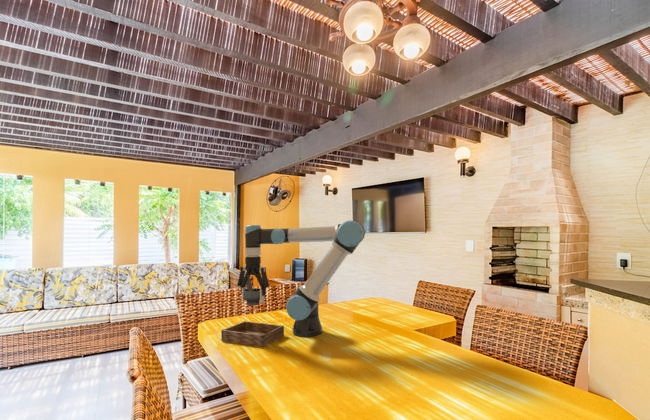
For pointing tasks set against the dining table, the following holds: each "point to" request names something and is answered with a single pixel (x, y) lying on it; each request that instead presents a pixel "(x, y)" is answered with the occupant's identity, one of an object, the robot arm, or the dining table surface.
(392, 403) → the dining table surface
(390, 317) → the dining table surface
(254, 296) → the mortar and pestle
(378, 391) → the dining table surface
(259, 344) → the crate
